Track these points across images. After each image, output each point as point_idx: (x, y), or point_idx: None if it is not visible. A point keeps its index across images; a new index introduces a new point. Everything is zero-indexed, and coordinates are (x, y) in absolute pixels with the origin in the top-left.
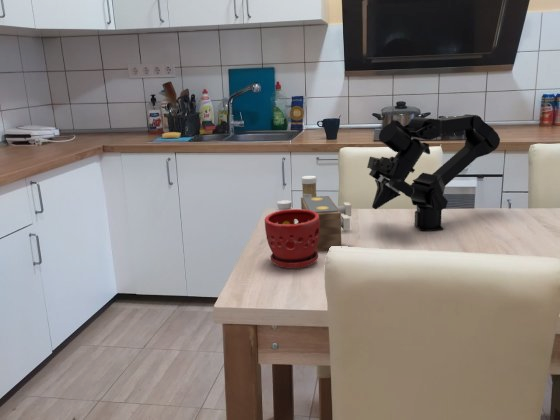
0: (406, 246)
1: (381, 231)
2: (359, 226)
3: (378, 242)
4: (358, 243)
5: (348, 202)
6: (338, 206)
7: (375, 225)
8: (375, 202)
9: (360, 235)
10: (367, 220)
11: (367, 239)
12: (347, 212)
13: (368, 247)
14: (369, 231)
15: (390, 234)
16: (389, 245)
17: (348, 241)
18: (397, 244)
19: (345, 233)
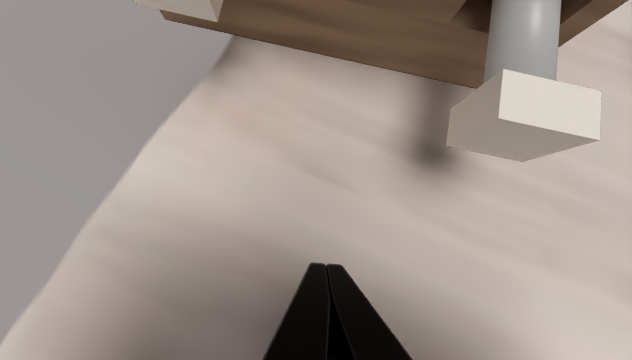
0: (65, 343)
1: None
2: (492, 252)
3: (197, 229)
4: (226, 130)
5: (594, 133)
6: (535, 36)
7: (483, 345)
8: (300, 298)
9: (343, 192)
10: (587, 343)
11: (267, 198)
12: (465, 110)
13: (147, 149)
14: (390, 265)
15: None
16: (125, 262)
17: (276, 100)
18: (120, 311)
19: (401, 137)
